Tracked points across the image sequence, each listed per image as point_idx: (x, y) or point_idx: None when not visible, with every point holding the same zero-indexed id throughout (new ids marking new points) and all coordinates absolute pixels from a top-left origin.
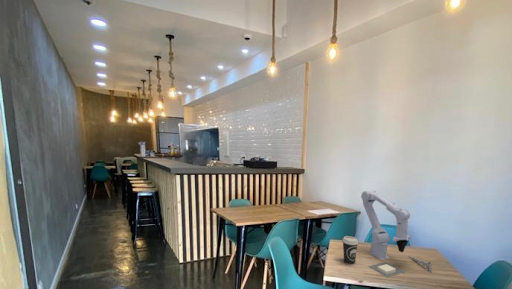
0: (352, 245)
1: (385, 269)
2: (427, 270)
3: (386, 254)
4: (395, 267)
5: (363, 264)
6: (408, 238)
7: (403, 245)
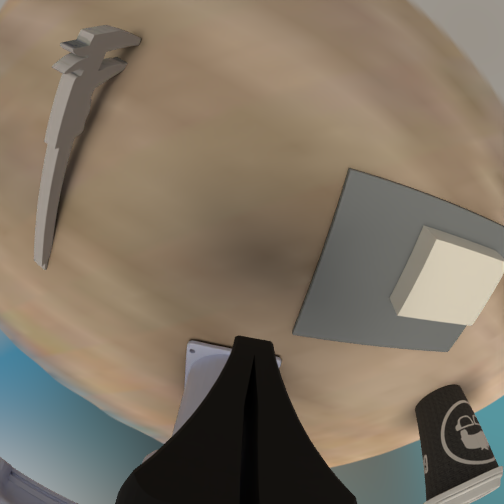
0: (497, 465)
1: (487, 281)
2: (121, 65)
3: (214, 372)
4: (333, 259)
5: (427, 371)
6: (11, 468)
7: (285, 448)
